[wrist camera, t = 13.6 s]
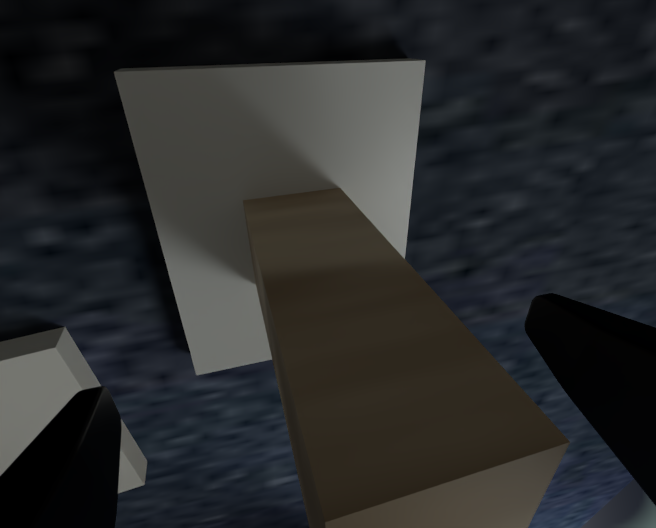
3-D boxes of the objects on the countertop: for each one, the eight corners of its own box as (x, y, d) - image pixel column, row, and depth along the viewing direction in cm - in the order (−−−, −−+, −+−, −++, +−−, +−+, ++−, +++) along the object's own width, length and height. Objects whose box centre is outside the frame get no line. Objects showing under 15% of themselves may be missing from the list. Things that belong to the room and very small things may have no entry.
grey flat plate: (387, 317, 17) (396, 332, 16) (196, 356, 15) (196, 375, 14) (409, 58, 12) (425, 60, 11) (120, 68, 10) (113, 71, 9)
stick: (341, 269, 14) (513, 557, 6) (255, 284, 13) (332, 627, 5) (340, 187, 12) (570, 442, 5) (242, 200, 11) (325, 522, 4)
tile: (144, 485, 16) (-45, 545, 15) (148, 451, 18) (-25, 504, 16) (55, 347, 12) (-221, 415, 11) (69, 316, 13) (-174, 373, 12)
